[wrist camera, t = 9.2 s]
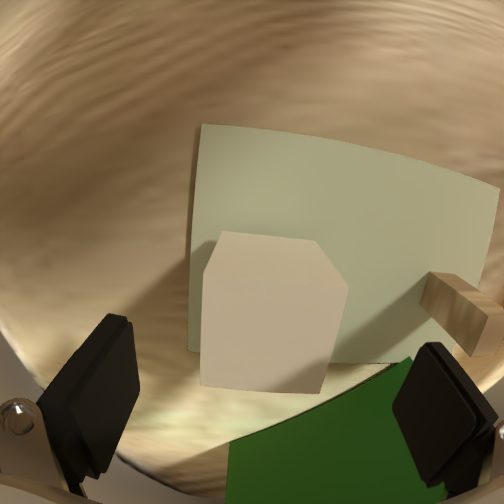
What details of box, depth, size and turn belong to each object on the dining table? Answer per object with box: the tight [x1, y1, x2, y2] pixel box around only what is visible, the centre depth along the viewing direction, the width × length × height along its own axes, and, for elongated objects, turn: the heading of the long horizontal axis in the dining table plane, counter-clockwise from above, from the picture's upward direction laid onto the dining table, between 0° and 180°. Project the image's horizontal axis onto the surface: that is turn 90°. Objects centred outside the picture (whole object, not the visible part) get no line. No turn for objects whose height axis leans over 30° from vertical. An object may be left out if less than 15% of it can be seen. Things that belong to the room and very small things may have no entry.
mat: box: [188, 124, 500, 363], centre depth 18 cm, size 15×22×1 cm
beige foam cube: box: [200, 231, 349, 394], centre depth 14 cm, size 5×5×7 cm
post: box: [419, 271, 504, 357], centre depth 15 cm, size 3×3×7 cm
